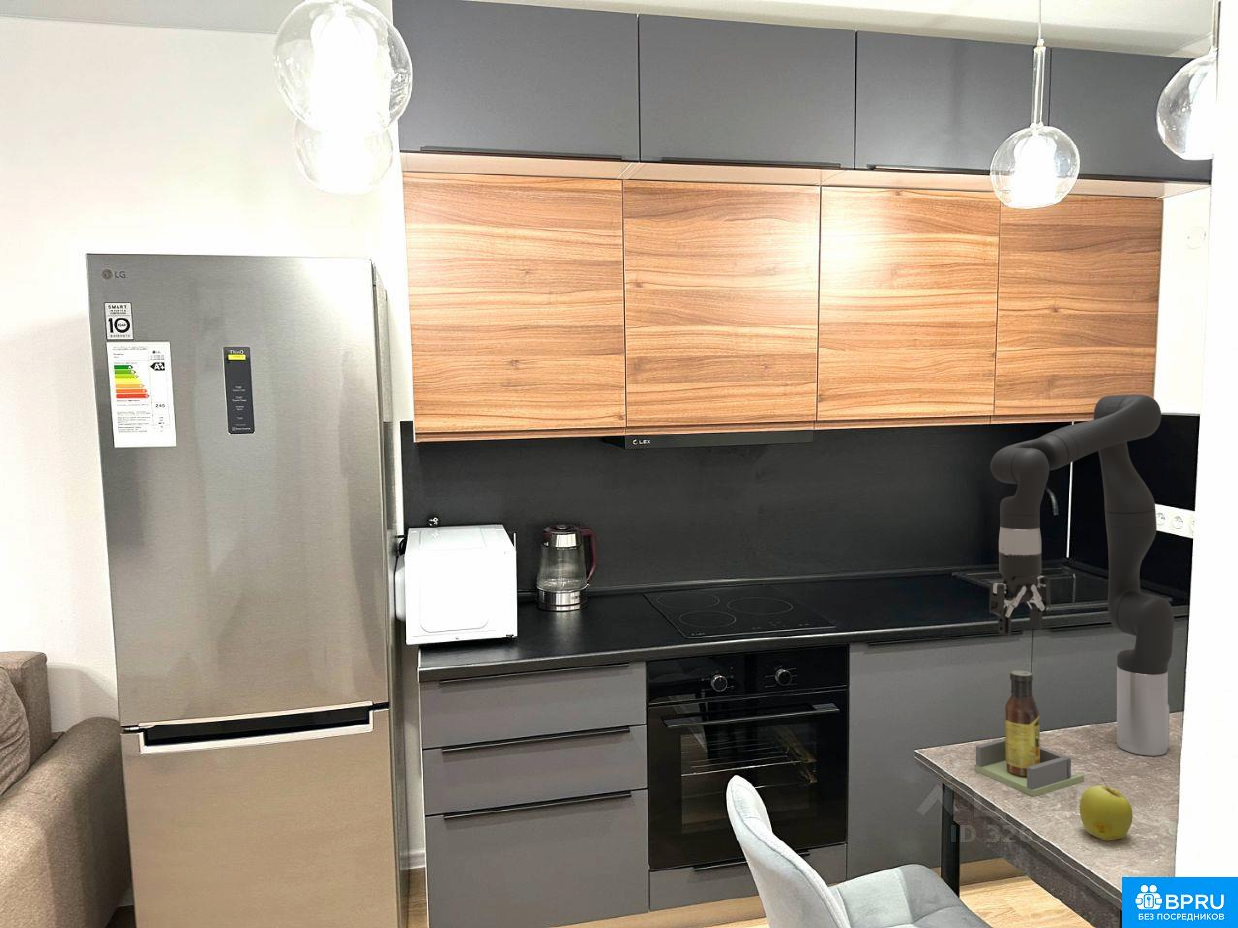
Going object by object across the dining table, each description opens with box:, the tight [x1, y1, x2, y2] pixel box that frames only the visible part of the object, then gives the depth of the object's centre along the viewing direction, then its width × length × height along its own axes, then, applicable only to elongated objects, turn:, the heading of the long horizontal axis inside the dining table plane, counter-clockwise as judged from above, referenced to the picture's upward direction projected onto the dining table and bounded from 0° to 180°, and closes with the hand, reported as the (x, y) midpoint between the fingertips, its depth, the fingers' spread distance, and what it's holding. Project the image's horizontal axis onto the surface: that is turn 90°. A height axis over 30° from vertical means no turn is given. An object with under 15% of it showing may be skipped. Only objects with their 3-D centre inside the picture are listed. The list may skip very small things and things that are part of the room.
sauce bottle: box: [1004, 669, 1041, 777], centre depth 174 cm, size 7×6×20 cm
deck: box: [974, 738, 1085, 797], centre depth 175 cm, size 14×14×5 cm
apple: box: [1079, 777, 1133, 841], centre depth 151 cm, size 8×8×10 cm
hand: (1020, 631), depth 173 cm, fingers open, 8 cm apart
